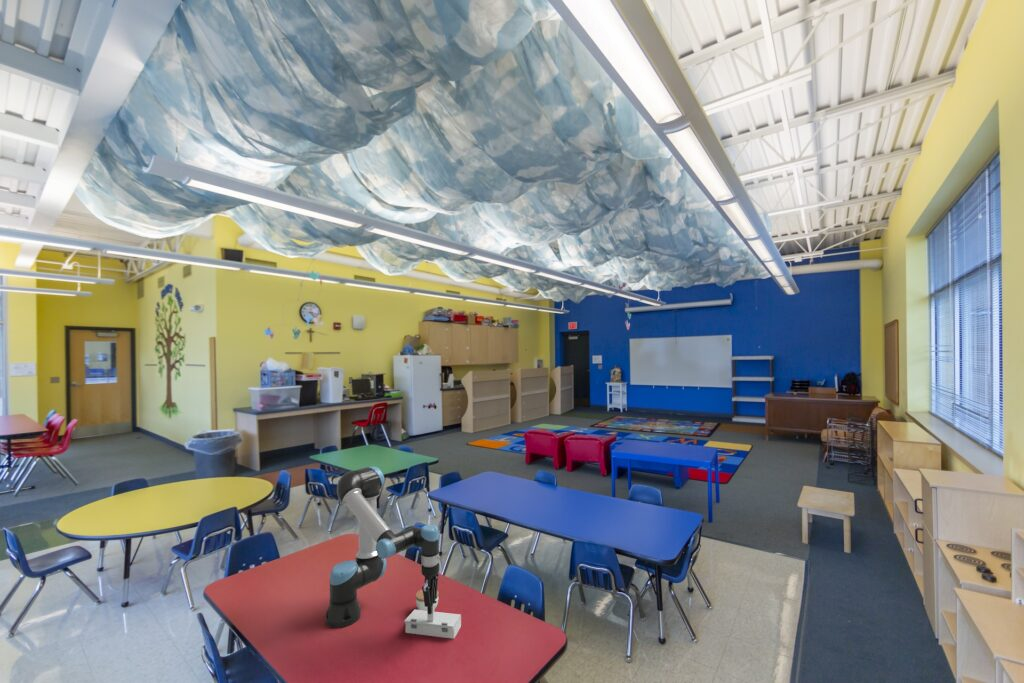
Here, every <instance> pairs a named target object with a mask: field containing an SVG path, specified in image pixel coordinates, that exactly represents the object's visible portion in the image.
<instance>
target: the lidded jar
mask: <svg viewBox="0 0 1024 683" xmlns="http://www.w3.org/2000/svg"><path fill="white" fill-rule="evenodd" d="M439 595H440V592H439V590H438V589H437V598H436V599H435V601H437V602H436V603H434V610H436V608H437V606H438V604H439ZM415 604H416V608H417V610H425V611H427V607H425V604H424V596H423V591H422V588H421V589H419V590H418V591H417V592H416V593H415Z"/></svg>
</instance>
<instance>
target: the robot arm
mask: <svg viewBox="0 0 1024 683" xmlns="http://www.w3.org/2000/svg"><path fill="white" fill-rule="evenodd" d="M384 485H385V475H384V473H383V471H382V470H381V469H380V468H379V467H377V466H367V467H362V468H358V469H355V470H350V471H347V472H346V473H343V475H342V476H341V477H340V478H339V480H338V482H337V484H336V494H337V495H336V496H337V497H338V500H339V501H340V503H341V505H342V506H345V507H347V508H348V509H349V510H350V511H351V513H352V514H353V516H354V517H355V518H356V519H357V520H358V551H357V552H356V554H355V560H354V559H353V560H352V559H350V560H349V559H348V560H343V561H341V562H339V563H337V564H335V565H334V566H333V567H332V569H331V570H330V572H329V603H328V607H327V611H326V613H325V620H324V622H325V625H326V626H328V628H333V629H338V628H344V627H348V626H350V625H352V624H354V623H356V622H358V621H359V620H360V619H361V616H362V610H361V607H360V604H359V601H358V590H359V589H361V588H363V587H365V586H368V585H369V584H371V583H373V582H376V581H377V580H379V579H380V578H382V577H383V576H384V574H385V572H386V571H387V570H386V569H387V558H391V557H393V556H395V555H397V554H399V553H400V552H403V551H406V550H407V549H410V548H412V547H417V548H420V551H421V554H420V555H421V556H420V561H421V575H422V576H424V586H421V589H422V591H423V596H424V604H425V607H427V621H434V620H435V615H434V612H435V609H434V603H436V602H437V601H435V599H436V598H437V590H438V584H439V583H438V582H439V573H440V558H441V557H440V545H439V544H440V533H439V532H440V531H439V527H438V526H437V525H436V524H425V525H424V526H422V527H419V526H415V525H408V524H407V525H405V526H404V525H403V528H401V530H400V532H399V531H398V532H397V533H395V532H394V531H392V529H391V528H390V527H389V526H388V525H387V523H386V522H385V521H384V519H383V518H382V517H381V516H380V515H379V514H378V507H377V503H378V502H377V499H378V497H379V496H380V494H381V493H380V490H381V489H382V488H383V487H384Z"/></svg>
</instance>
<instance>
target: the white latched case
mask: <svg viewBox="0 0 1024 683" xmlns="http://www.w3.org/2000/svg"><path fill="white" fill-rule="evenodd" d="M461 627H462V616H461V617H460V619H459V620H458V622H457V623H456V625H455V626H454V628H453V629H452V628H443V627H435V626H427V625H419V624H410V623H405V633H406V634H412V635H415V634H416V635H422V636H430V637H436V638H444V639H445V638H446V639H453V640H455V638H456V636H457V634H458V633H459V631H460V629H461Z"/></svg>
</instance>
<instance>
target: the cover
mask: <svg viewBox="0 0 1024 683" xmlns="http://www.w3.org/2000/svg"><path fill="white" fill-rule="evenodd" d="M434 615H435V620H434V621H427V611H425V610H418V609H413V611H411V613H410V614H409V615H408V616H407V617H406V618H405V619H404V624H406V623H410V624H419V625H427V626H435V627H443V628H452V629H453V628H454V626H455V625H456V623H457V622H458V620H459V619H460V617H461V618H462V614H461V613H449V612H448V613H447V612H441V611H434Z"/></svg>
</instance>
